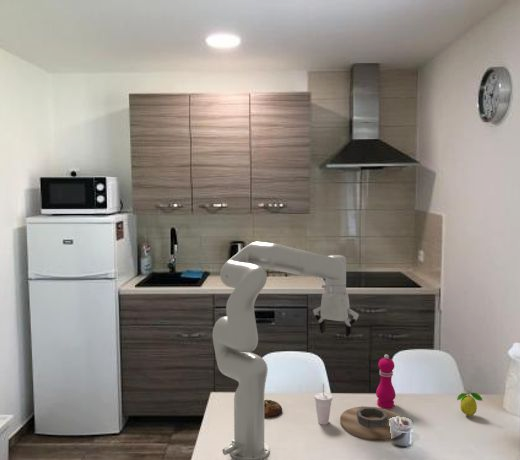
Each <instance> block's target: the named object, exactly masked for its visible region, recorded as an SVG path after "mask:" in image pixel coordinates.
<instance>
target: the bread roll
mask: <svg viewBox="0 0 520 460" xmlns="http://www.w3.org/2000/svg"><path fill="white" fill-rule="evenodd" d="M282 413H283V408H282V405H281V404H279V403H278V402H277V401H275V400H271V399H264V418H276V417H279V416H281V415H282Z"/></svg>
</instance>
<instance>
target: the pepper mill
mask: <svg viewBox="0 0 520 460" xmlns="http://www.w3.org/2000/svg"><path fill="white" fill-rule="evenodd" d="M377 364H378V366H377V367H378V369H379V373H378V374H379V375H380V380H379V381H380V382H379V384H378V386H377V388H376V392H375V395H376V397H377V401H376V404H377V406H378V408H382V409H385V410H389V409H393V408H394V407H395V401H394V400H395V399H396V390H395V388H394V386H393V383H392V378H393V375H394V374H393V373H394V371H393V370H394V369H395V362H394V361H393V360H392V359H391V358H390V356H389V354H387V353H386V354H384V356H383V357H381V359H379V361H378V363H377Z"/></svg>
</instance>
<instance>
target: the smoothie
mask: <svg viewBox="0 0 520 460" xmlns="http://www.w3.org/2000/svg"><path fill="white" fill-rule="evenodd" d="M313 398H314V401H315V407H316V417H317V423H318V424H320V425H323V426H325V425H328V424H329V419H330V413H331V406H332V401H333V395H332V394H331V393H329V392H325V383H322V392H317V393H315V394H314V396H313Z"/></svg>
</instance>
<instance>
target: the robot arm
mask: <svg viewBox="0 0 520 460" xmlns="http://www.w3.org/2000/svg"><path fill="white" fill-rule="evenodd" d="M266 269H267V270H270V271H271V270H272V271H277V272H282V273H286V274H292V275H297V276H303V277H306V276H308V277H314V278H319V279H325V281H324V282H325V283H324V284H321V289H324V291H323V292H322V295H321V303H320V306H318V307H316V308H314V309H313V310H312V312H313V315H314V317H315V319H317V322H318V323H319V331H320V334H324V333H326V321H325V320H327V321H328V320H329V321H337V322H344V323H345V324H346V326H345V337H350V335H352V325H353V324H354V323H356V321H357V320H358V318H359V315H360V314H359V313H358V312H356V311H354V310H353V309H351V308H350V298H349V293H348V291H347V257H345V256H344V255H341V254H330V255H324V254H318V253H314V252H311V251H308V250H303V249H299V248H294V247H291V246H286V245H283V244H278V243H274V242H264V241H253V242H251V243H249V244H247V245H246V246H244V247H243V248H242V249H240V250H239V251H238V252H236V254H234V255H232V257H231V258H229V259H227V260H226V262H225V263H223V265H222V267H221V270H220V275H219V276H220V280H221V282H222V284H223V285H225V286H226V287H228V288H231V289H232V288H233V291H232V292H231V294H230V295H229V297H228V299H227V302H226V307H225V309H226V310H225V311H226V316H222V317H220V318H218V319H217V320H216V321H215V324H214V326H213V328H212V343H213V348H214V353H215V359H216V364H217V368H218V370H219V371H220V373H221V374H222V375H224V376H226V377H228V378H231V379H232V380H233V381H234V380H235V381H237V382H238V386H237V388H236V389H235V392H234V397H233V411H234V412H233V415H234V416H233V417H234V418H233V421H234V423H233V427H234V428H233V431H234V438H233V439H231V443H230V444H229V446H227V447H224V448H223V449H222V451H221V452H222V454H223V455H224V456H226V455H229V454H230V456H231V457H232V458H234V459H235V460H263V459H265V458H266V457H267V456H268V455H269V453H270V445H269V444H268V443H267V442H266V441H265V417H264V400H265V392H266V390H265V389H266V382H267V376H268V369H269V368H268V364H267V362H266V361H265V359H264V358H263V357H261V356H260V355H258V354H256V353H254V352H253V351H255V349H256V348H257V346H258V343H259V333H258V327H257V321H256V315H255V303H256V300H257V297H258V296H259V294H260V292H262V290H263V289H264V287H265V285H266V284H267V279H268V274H267V271H266ZM319 312H320V314H319ZM350 316H352V317H353V318H352V319H351V318H350Z"/></svg>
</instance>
